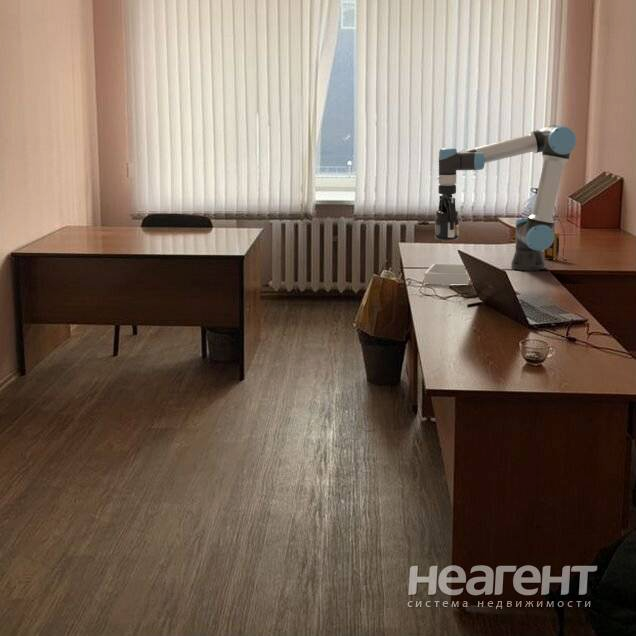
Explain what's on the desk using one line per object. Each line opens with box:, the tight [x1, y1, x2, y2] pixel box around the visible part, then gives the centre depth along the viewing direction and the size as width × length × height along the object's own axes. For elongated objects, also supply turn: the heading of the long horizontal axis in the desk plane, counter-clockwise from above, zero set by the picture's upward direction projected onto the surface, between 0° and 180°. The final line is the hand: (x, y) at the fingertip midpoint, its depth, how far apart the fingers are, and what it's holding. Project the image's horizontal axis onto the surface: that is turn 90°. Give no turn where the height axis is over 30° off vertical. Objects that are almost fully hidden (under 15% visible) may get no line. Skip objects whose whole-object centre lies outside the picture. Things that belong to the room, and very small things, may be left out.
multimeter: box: [542, 218, 566, 261], centre depth 480 cm, size 15×10×20 cm
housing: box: [423, 263, 470, 286], centre depth 434 cm, size 24×18×5 cm
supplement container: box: [434, 210, 460, 241], centre depth 439 cm, size 10×10×12 cm
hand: (446, 235), depth 440 cm, fingers closed on supplement container, 10 cm apart
